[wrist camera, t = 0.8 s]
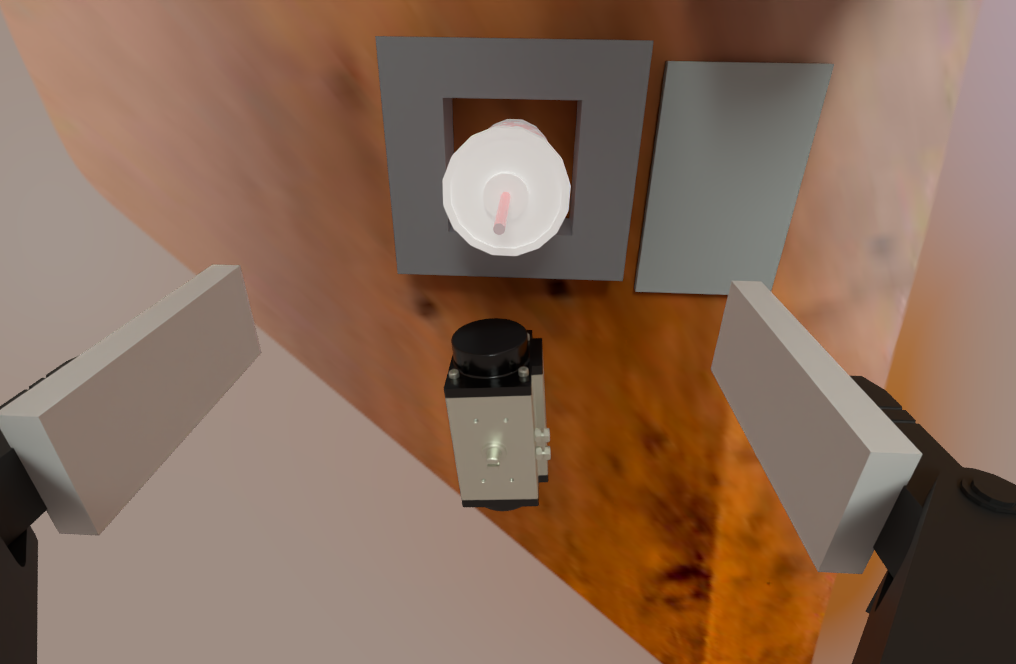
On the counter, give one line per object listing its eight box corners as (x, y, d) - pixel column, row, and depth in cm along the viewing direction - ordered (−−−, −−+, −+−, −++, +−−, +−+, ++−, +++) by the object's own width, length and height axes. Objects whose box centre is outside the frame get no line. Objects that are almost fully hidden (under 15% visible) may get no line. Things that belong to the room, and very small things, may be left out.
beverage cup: (498, 224, 35) (477, 323, 23) (445, 140, 33) (389, 202, 20) (580, 174, 33) (605, 254, 21) (530, 83, 31) (525, 113, 19)
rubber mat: (665, 61, 30) (668, 61, 29) (829, 63, 30) (834, 64, 29) (634, 288, 37) (635, 291, 36) (766, 292, 36) (769, 296, 36)
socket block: (392, 36, 30) (375, 36, 27) (641, 40, 30) (653, 40, 26) (409, 253, 36) (397, 273, 33) (615, 260, 36) (622, 280, 33)
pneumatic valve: (481, 415, 43) (462, 538, 32) (465, 282, 37) (436, 378, 27) (550, 413, 42) (554, 537, 32) (544, 278, 37) (546, 374, 26)
